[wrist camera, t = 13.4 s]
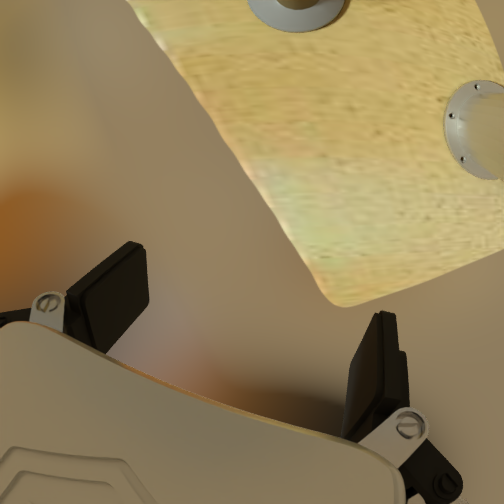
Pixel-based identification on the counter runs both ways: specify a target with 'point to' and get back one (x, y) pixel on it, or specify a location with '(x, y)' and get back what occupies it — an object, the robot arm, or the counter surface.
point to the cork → (297, 4)
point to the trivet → (296, 15)
